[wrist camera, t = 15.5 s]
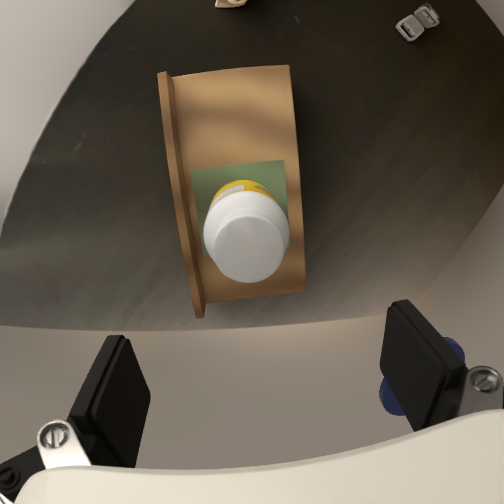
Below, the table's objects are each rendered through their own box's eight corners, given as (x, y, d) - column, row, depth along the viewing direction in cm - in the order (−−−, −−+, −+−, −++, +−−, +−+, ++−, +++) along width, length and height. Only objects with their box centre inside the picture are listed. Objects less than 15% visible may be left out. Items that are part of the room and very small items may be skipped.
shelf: (296, 269, 41) (312, 304, 32) (202, 280, 41) (196, 318, 32) (280, 75, 32) (294, 57, 24) (174, 87, 32) (157, 73, 24)
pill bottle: (278, 236, 33) (302, 289, 22) (215, 245, 33) (208, 302, 22) (271, 173, 30) (294, 195, 19) (205, 182, 30) (190, 209, 19)
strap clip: (407, 44, 31) (424, 37, 27) (392, 26, 30) (408, 17, 26) (439, 18, 29) (456, 12, 25) (425, 2, 28) (441, -6, 24)
